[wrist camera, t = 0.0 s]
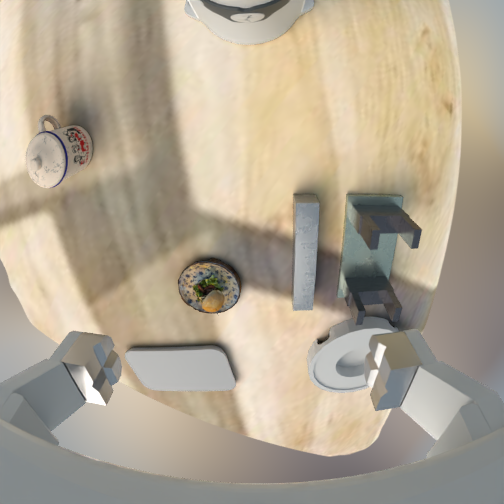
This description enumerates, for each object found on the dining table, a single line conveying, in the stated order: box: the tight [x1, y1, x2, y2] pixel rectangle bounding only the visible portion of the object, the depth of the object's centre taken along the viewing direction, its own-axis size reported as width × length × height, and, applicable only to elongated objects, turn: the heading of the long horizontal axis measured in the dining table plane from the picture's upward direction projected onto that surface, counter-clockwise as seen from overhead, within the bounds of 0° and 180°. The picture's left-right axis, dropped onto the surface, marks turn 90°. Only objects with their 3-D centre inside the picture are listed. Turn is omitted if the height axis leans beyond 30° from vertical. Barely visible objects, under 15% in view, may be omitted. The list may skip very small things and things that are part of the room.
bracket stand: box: [336, 194, 422, 325], centre depth 45 cm, size 20×10×10 cm, turn 3°
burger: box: [178, 258, 241, 314], centre depth 52 cm, size 12×12×8 cm
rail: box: [292, 194, 319, 311], centre depth 49 cm, size 20×4×4 cm, turn 3°
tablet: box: [125, 345, 236, 391], centre depth 67 cm, size 16×26×2 cm, turn 100°
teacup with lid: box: [26, 115, 93, 188], centre depth 36 cm, size 12×9×12 cm
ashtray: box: [307, 317, 399, 393], centre depth 62 cm, size 23×23×4 cm
